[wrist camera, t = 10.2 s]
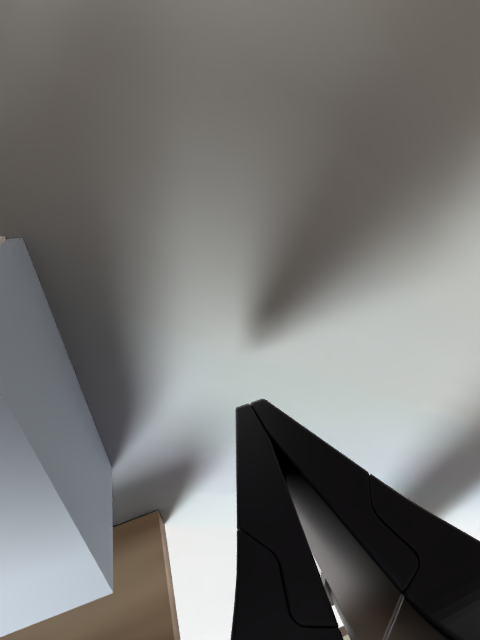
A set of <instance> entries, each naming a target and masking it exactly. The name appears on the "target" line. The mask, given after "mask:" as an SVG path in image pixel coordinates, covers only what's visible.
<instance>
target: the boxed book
mask: <svg viewBox="0 0 480 640" xmlns="http://www.w3.org/2000/svg"><path fill="white" fill-rule="evenodd" d="M112 593H113V506H112V467H111V464H110V462H109V459H108V457H107V454H106V451H105V449H104V446H103V444H102V441H101V439H100V436H99V433H98V431H97V428H96V426H95V423H94V420H93V418H92V415H91V413H90V410H89V408H88V405H87V402H86V400H85V397H84V395H83V392H82V390H81V387H80V384H79V382H78V379H77V377H76V374H75V372H74V369H73V366H72V364H71V361H70V359H69V356H68V354H67V351H66V348H65V346H64V343H63V341H62V338H61V336H60V333H59V330H58V328H57V325H56V323H55V320H54V317H53V315H52V312H51V310H50V307H49V305H48V302H47V299H46V297H45V294H44V292H43V289H42V287H41V284H40V281H39V279H38V276H37V274H36V271H35V269H34V266H33V263H32V261H31V258H30V256H29V253H28V251H27V248H26V245H25V243H24V240H23V238H22V237H20V238H12V239H6V238H5V236H1V237H0V637H2V636H5V635H7V634H10V633H12V632H15V631H17V630H20V629H23V628H25V627H28V626H30V625H33V624H35V623H38V622H40V621H43V620H46V619H48V618H51V617H53V616H56V615H58V614H61V613H63V612H66V611H68V610H71V609H74V608H76V607H79V606H81V605H84V604H86V603H89V602H91V601H94V600H96V599H99V598H102V597H104V596H107V595H109V594H112Z"/></svg>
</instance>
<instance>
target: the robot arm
mask: <svg viewBox="0 0 480 640" xmlns="http://www.w3.org/2000/svg"><path fill="white" fill-rule="evenodd" d="M236 485H237V530H238V531H237V576H236V589H235V602H234V613H233V623H232V632H231V640H343V637H342V634H341V632H340V630H339V629H338V623H337V621H336V618H335V615H334V612H333V610H332V607H331V606H333V605H335V607H336V609H337V611H338V614H339V616H340V618H341V620H342V622H343V624H344V626H345V628H346V631H347V632H348V635H349V637H350V639H351V640H480V541H479V540H477V539H475V538H473V537H472V536H470V535H468V534H466V533H465V532H463V531H461V530H460V529H458V528H456V527H454V526H453V525H451V524H449V523H447V522H446V521H444V520H442V519H441V518H439V517H437V516H435V515H434V514H432V513H430V512H429V511H427V510H425V509H424V508H422V507H420V506H419V505H417V504H415V503H414V502H412V501H410V500H409V499H407V498H405V497H404V496H402V495H401V494H399V493H398V492H396V491H395V490H393V489H392V488H391V487H389V486H388V485H386V484H385V483H383V482H382V481H380V480H379V479H378V478H376V477H375V476H373V475H372V474H370V475H369V473H368V472H367V471H366V470H365V469H363V468H362V467H360V466H359V465H358V464H356V463H355V462H353V461H352V460H350V459H349V458H348V457H346V456H345V455H343V454H342V453H340V452H339V451H338V450H336V449H335V448H333V447H332V446H331V445H329V444H328V443H326V442H325V441H323V440H322V439H321V438H319V437H318V436H316V435H315V434H314V433H312V432H311V431H309V430H308V429H306V428H305V427H304V426H302V425H301V424H299V423H298V422H297V421H295V420H294V419H292V418H291V417H289V416H288V415H287V414H285V413H284V412H282V411H281V410H280V409H278V408H277V407H275V406H274V405H272V404H271V403H270V402H268V401H267V400H265V399H260V400H257V401H254V402H252V403H251V404H245V405H242V406H239V407H237V408H236ZM312 554H313V555H314V557H315V559H316V561H317V563H318V565H319V567H320V569H321V571H322V576H321V577H320V574H319V571H318V569H317V566H316V563H315V560H314V558H313V555H312Z"/></svg>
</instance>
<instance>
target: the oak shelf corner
mask: <svg viewBox="0 0 480 640" xmlns="http://www.w3.org/2000/svg"><path fill="white" fill-rule="evenodd" d="M0 640H180V634H179V626H178V619H177V612H176V605H175V597H174V590H173V583H172V576H171V568H170V561H169V554H168V547H167V539H166V532H165V525H164V523H163V521H162V518H161V516H160V514H159V511H155V512H152V513H150V514H147V515H145V516H142V517H139V518H137V519H134V520H131V521H129V522H126V523H123V524H121V525H118V526H115V527H113V593H112V594H109V595H107V596H104V597H102V598H99V599H96V600H94V601H91V602H89V603H86V604H84V605H81V606H79V607H76V608H74V609H71V610H68V611H66V612H63V613H61V614H58V615H56V616H53V617H51V618H48V619H46V620H43V621H40V622H38V623H35V624H33V625H30V626H28V627H25V628H23V629H20V630H17V631H15V632H12V633H10V634H7V635H5V636H2V637H0Z"/></svg>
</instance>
